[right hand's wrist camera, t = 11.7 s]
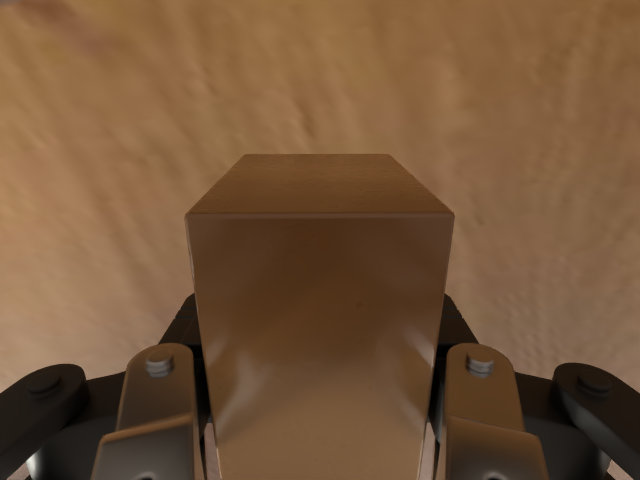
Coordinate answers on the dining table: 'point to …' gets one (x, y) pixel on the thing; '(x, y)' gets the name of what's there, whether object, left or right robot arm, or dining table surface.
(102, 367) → the dining table surface
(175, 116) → the dining table surface
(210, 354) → the post
